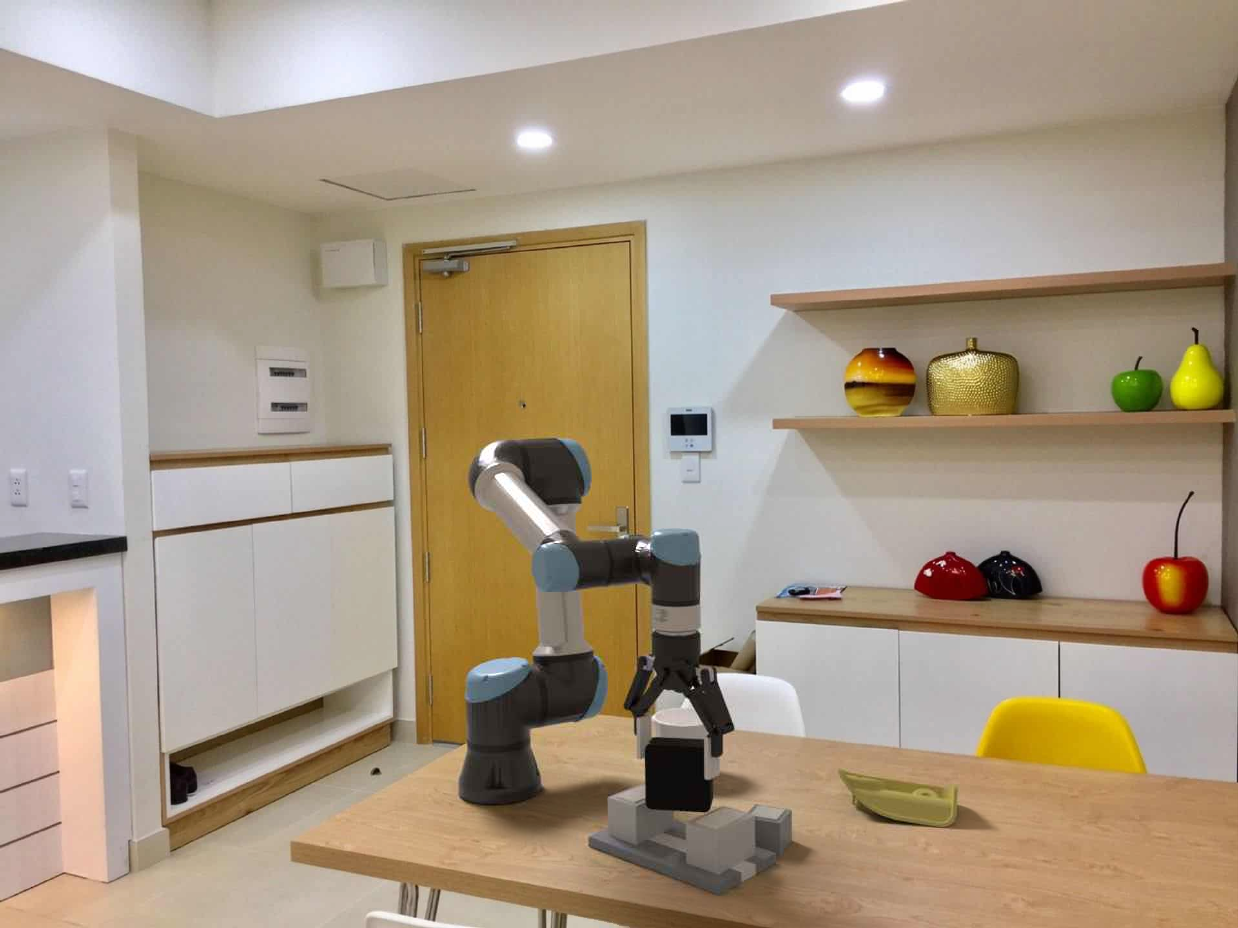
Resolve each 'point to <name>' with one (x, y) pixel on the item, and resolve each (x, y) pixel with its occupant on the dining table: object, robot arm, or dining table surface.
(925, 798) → the plastic component
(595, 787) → the dining table surface
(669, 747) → the electronic device
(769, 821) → the module
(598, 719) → the dining table surface
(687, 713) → the cup
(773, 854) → the board
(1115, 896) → the dining table surface
